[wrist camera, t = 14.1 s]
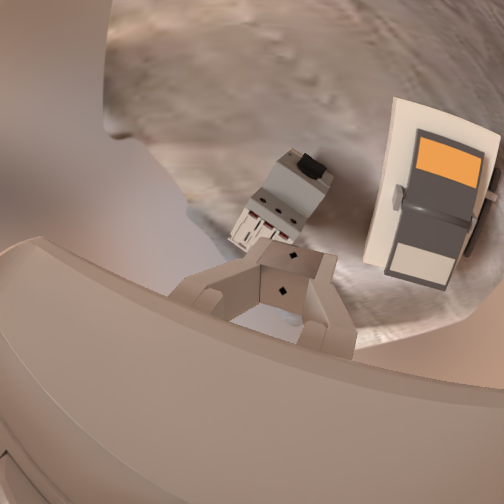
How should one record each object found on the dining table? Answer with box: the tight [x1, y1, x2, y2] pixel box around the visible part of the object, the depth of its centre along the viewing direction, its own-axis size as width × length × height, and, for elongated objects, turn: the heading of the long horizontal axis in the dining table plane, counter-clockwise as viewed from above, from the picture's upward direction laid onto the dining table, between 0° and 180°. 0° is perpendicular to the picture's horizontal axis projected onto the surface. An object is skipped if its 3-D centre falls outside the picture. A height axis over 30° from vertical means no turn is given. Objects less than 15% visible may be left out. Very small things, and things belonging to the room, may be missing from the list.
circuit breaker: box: [228, 148, 334, 252], centre depth 40 cm, size 8×14×15 cm, turn 154°
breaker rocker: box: [384, 128, 485, 291], centre depth 29 cm, size 20×10×2 cm, turn 0°
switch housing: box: [363, 97, 501, 274], centre depth 33 cm, size 26×16×10 cm, turn 0°
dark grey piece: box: [464, 161, 501, 257], centre depth 32 cm, size 19×3×2 cm, turn 0°
